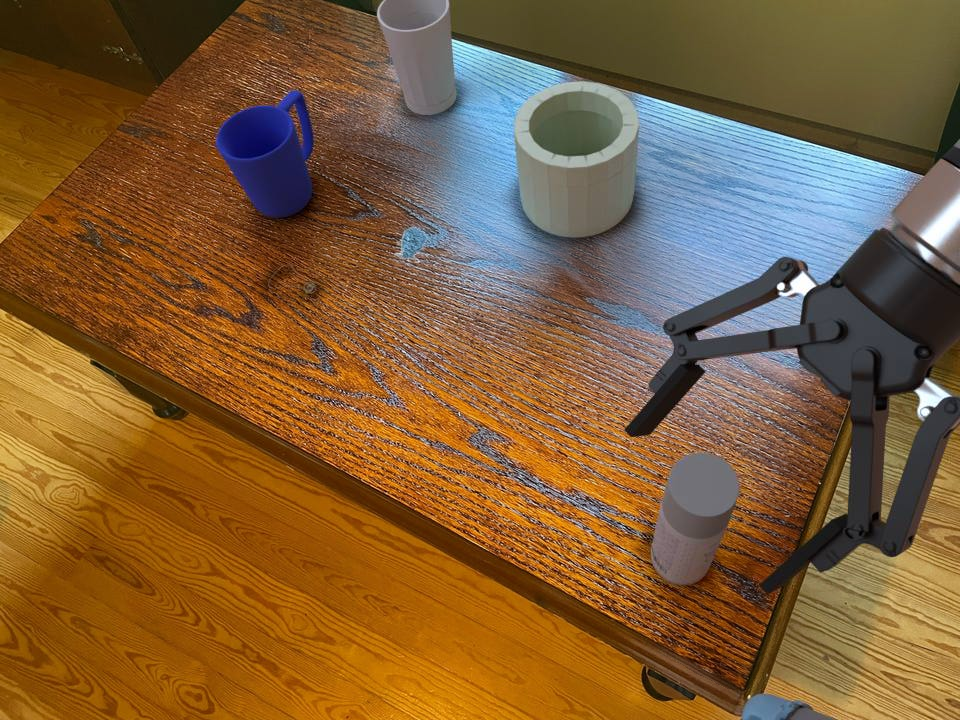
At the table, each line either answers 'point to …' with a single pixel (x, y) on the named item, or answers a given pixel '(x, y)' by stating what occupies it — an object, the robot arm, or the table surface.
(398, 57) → the cup
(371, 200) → the table surface
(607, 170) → the round pot
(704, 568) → the container
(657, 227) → the table surface
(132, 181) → the table surface
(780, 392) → the table surface
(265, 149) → the mug
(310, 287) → the necklace
